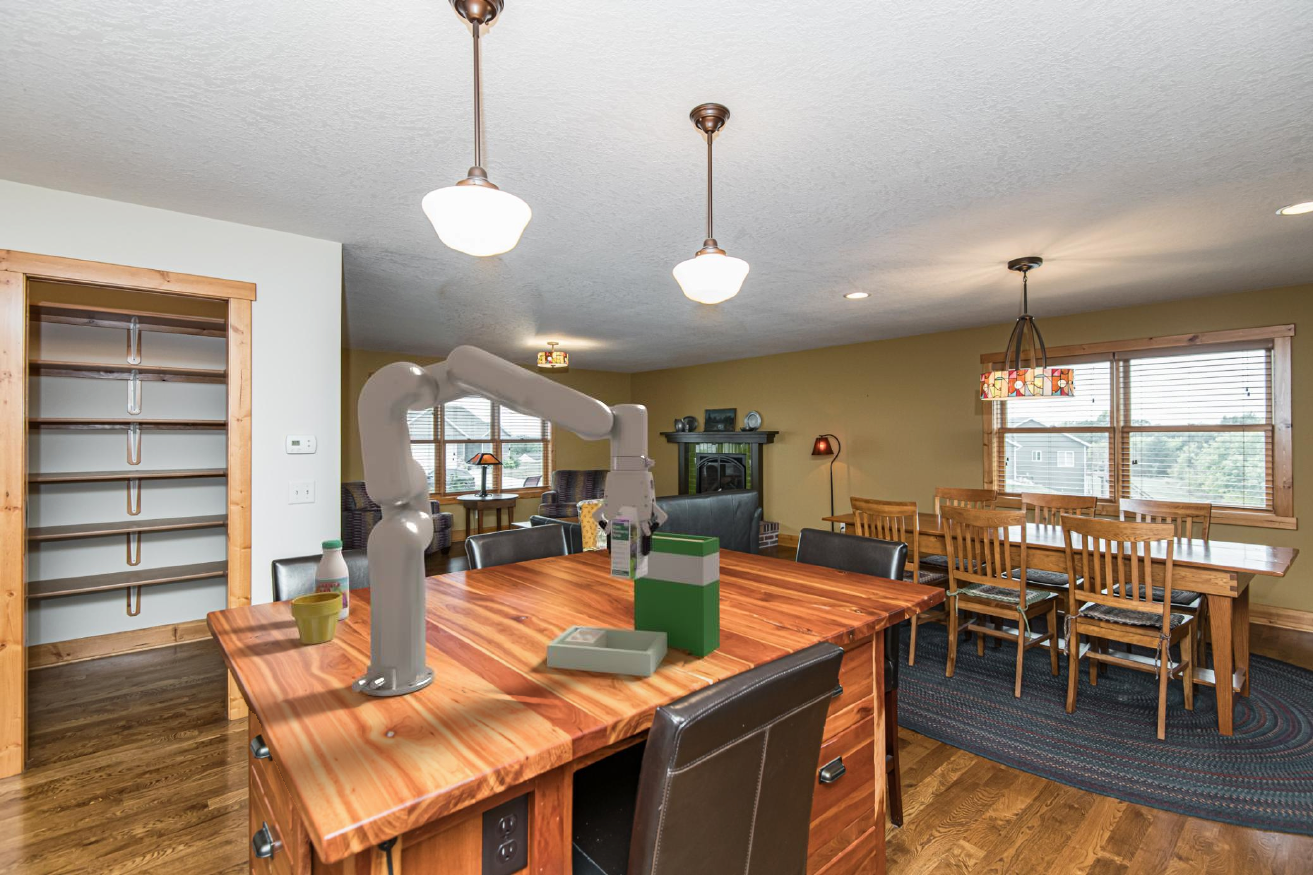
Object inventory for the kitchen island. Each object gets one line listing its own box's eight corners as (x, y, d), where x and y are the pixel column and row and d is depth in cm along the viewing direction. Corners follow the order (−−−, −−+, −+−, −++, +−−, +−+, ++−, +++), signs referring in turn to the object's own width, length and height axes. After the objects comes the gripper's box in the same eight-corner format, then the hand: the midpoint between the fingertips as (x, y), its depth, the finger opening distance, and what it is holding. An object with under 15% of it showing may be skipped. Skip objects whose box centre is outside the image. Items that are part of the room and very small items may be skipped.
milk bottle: (316, 616, 155) (316, 540, 155) (349, 612, 158) (349, 538, 159) (313, 624, 148) (313, 544, 148) (348, 620, 151) (348, 542, 152)
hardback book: (634, 643, 133) (633, 536, 133) (652, 634, 139) (651, 531, 140) (703, 658, 124) (703, 542, 124) (719, 647, 130) (719, 537, 130)
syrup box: (609, 577, 119) (609, 505, 119) (624, 572, 124) (624, 502, 124) (634, 580, 116) (634, 506, 116) (648, 574, 121) (648, 503, 121)
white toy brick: (592, 665, 117) (592, 639, 117) (564, 662, 119) (564, 636, 119) (606, 651, 125) (605, 627, 125) (579, 649, 126) (579, 625, 127)
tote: (650, 680, 112) (650, 654, 112) (546, 670, 117) (546, 645, 117) (667, 656, 124) (666, 632, 124) (572, 648, 130) (572, 625, 130)
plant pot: (279, 645, 133) (279, 601, 133) (318, 631, 143) (318, 590, 143) (315, 649, 130) (316, 604, 130) (353, 635, 140) (353, 593, 140)
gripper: (674, 465, 122) (675, 552, 121) (595, 464, 126) (595, 549, 126) (666, 466, 114) (666, 559, 114) (582, 465, 119) (582, 555, 118)
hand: (629, 553), depth 120 cm, fingers closed on syrup box, 6 cm apart
